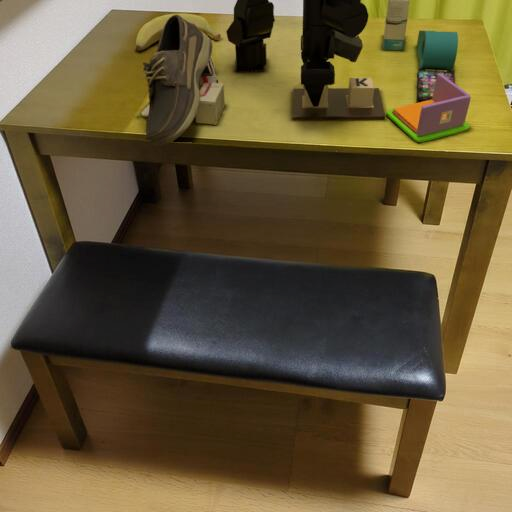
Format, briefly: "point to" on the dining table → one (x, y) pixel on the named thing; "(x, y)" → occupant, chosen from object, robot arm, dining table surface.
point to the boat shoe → (175, 79)
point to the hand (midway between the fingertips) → (315, 97)
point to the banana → (155, 27)
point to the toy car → (208, 74)
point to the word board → (337, 107)
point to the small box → (210, 103)
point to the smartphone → (430, 81)
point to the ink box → (395, 24)
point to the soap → (145, 111)
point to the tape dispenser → (437, 49)
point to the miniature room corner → (434, 113)
